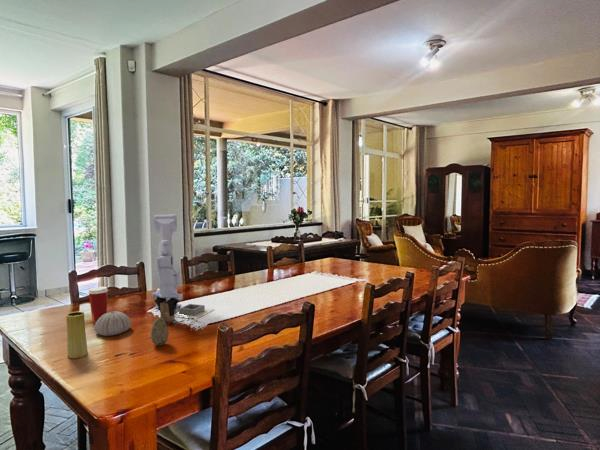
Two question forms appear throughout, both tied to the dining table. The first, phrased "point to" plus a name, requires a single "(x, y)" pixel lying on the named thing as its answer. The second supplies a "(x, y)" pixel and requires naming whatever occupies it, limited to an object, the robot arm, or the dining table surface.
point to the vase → (76, 335)
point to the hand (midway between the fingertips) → (167, 314)
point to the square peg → (166, 312)
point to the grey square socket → (193, 310)
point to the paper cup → (98, 302)
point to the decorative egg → (159, 332)
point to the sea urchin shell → (112, 323)
